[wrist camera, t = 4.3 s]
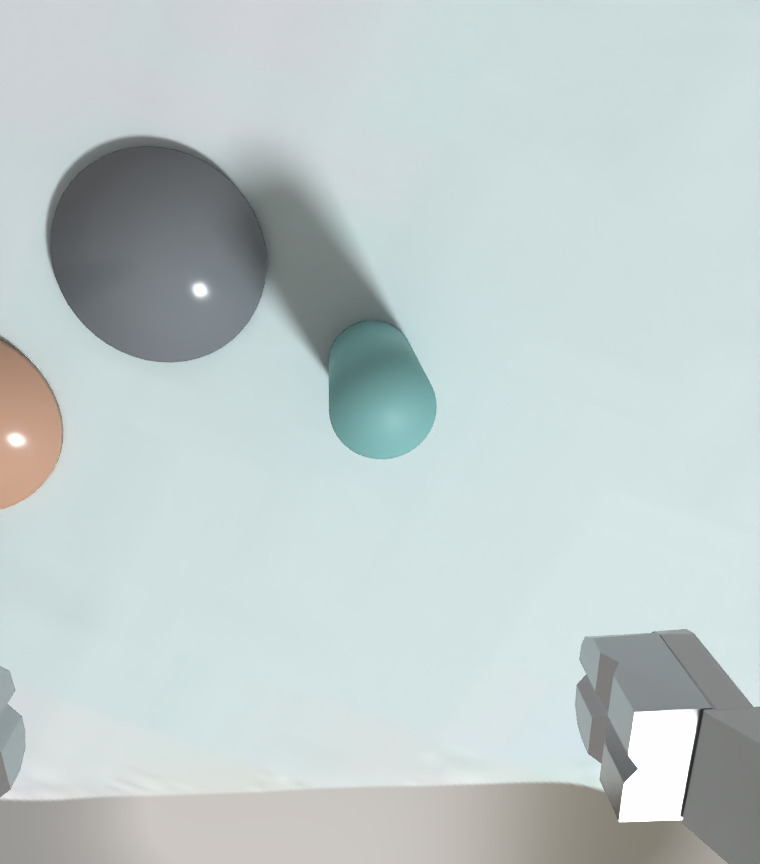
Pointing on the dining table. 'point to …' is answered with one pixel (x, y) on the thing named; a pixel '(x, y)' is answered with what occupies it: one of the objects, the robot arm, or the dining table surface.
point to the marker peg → (378, 392)
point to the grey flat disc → (158, 254)
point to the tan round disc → (25, 427)
